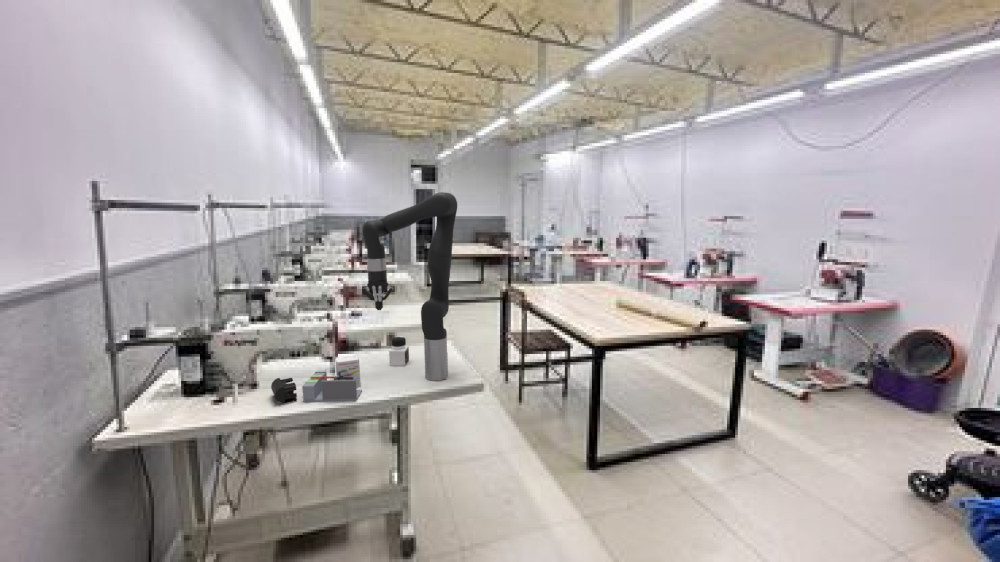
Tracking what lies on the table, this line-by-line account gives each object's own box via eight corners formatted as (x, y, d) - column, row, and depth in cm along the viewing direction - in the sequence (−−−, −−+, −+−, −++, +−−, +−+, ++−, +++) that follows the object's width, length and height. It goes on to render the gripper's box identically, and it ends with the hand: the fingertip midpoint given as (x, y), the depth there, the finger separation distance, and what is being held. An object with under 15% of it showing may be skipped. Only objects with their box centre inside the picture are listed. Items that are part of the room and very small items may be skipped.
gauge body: (366, 385, 170) (365, 366, 169) (356, 401, 157) (355, 380, 155) (317, 386, 169) (315, 367, 168) (303, 402, 156) (301, 381, 154)
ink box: (337, 391, 165) (335, 361, 163) (337, 386, 170) (335, 357, 167) (361, 387, 169) (359, 358, 166) (359, 382, 173) (358, 354, 171)
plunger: (354, 389, 164) (353, 374, 163) (351, 393, 161) (350, 377, 160) (314, 390, 164) (312, 374, 162) (310, 394, 160) (309, 378, 159)
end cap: (271, 396, 161) (270, 379, 159) (292, 391, 165) (291, 375, 163) (275, 406, 153) (274, 388, 151) (297, 401, 157) (296, 384, 155)
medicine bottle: (405, 366, 190) (404, 340, 188) (389, 366, 190) (388, 340, 188) (409, 360, 197) (408, 335, 195) (393, 360, 197) (392, 335, 195)
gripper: (394, 267, 182) (396, 307, 185) (363, 267, 181) (365, 307, 184) (391, 270, 174) (393, 311, 177) (358, 270, 174) (360, 312, 177)
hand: (379, 309), depth 181 cm, fingers closed
